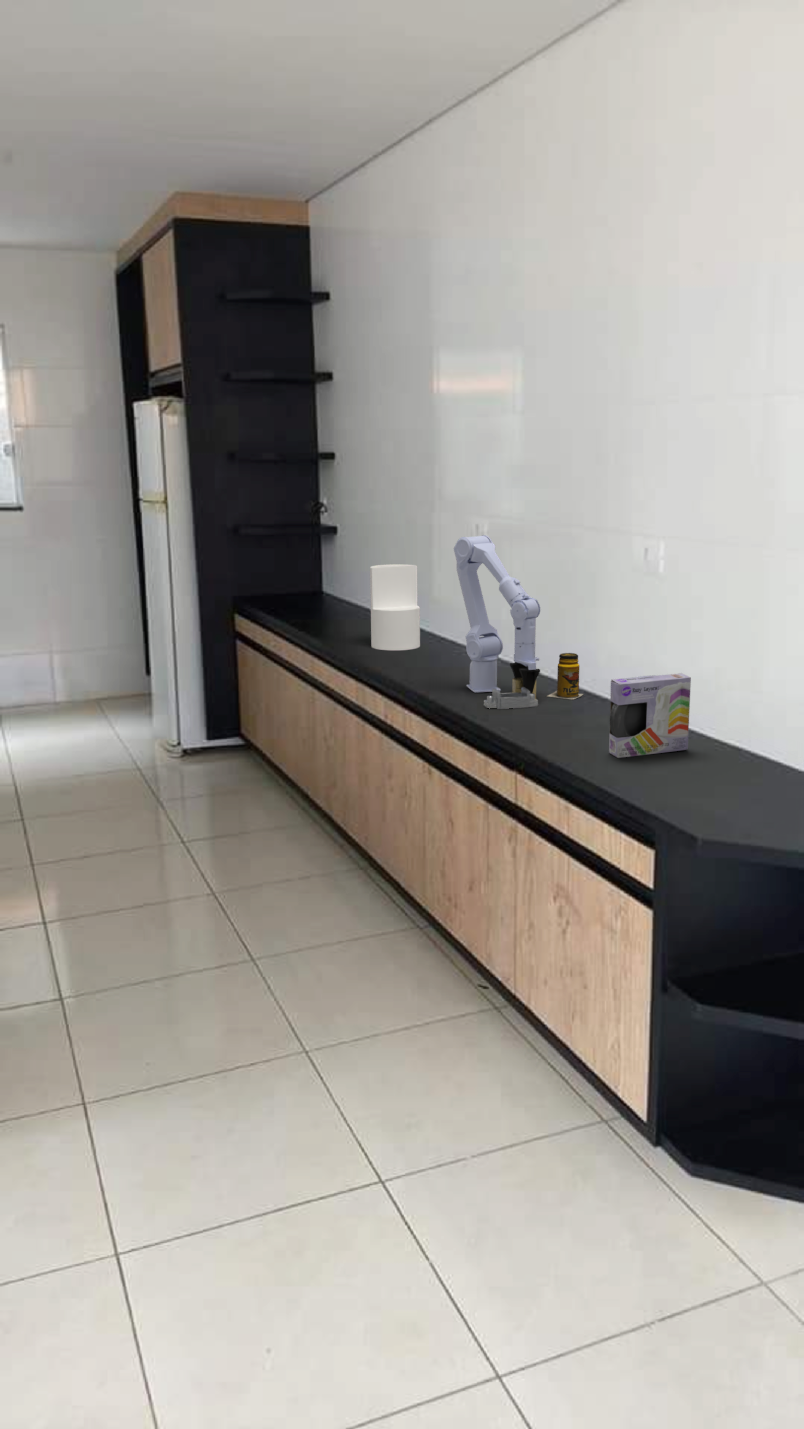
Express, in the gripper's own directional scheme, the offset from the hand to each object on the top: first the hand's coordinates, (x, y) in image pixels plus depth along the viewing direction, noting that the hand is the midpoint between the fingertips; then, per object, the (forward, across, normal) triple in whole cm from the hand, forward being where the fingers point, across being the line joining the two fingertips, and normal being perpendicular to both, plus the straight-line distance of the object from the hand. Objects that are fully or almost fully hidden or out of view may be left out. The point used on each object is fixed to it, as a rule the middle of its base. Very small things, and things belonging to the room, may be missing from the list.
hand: (524, 690), depth 315 cm
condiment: (+2, 0, -12) cm, 12 cm away
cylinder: (+2, +92, +19) cm, 94 cm away
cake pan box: (+3, -62, -10) cm, 63 cm away
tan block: (+2, 0, 0) cm, 2 cm away
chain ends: (+2, -9, +6) cm, 11 cm away
